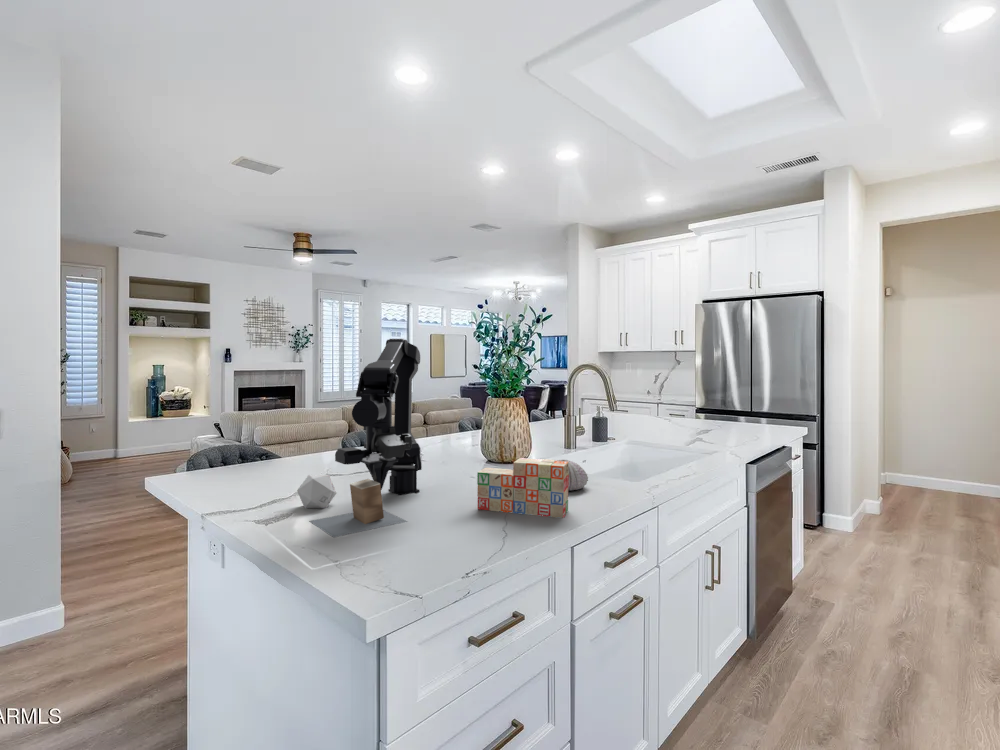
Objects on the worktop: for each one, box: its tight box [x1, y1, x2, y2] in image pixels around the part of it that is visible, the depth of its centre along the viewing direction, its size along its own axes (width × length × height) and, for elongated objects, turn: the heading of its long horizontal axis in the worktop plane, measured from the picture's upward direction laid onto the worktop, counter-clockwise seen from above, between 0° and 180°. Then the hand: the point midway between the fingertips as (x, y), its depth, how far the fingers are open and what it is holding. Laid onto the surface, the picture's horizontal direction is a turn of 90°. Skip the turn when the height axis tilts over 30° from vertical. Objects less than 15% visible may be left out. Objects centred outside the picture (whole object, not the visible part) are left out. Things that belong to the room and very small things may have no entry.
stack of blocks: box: [476, 457, 569, 519], centre depth 128 cm, size 21×6×12 cm, turn 72°
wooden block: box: [349, 478, 384, 524], centre depth 119 cm, size 4×6×8 cm
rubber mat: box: [308, 509, 409, 538], centre depth 118 cm, size 17×14×1 cm
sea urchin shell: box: [556, 459, 589, 492], centre depth 151 cm, size 13×14×8 cm
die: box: [296, 474, 338, 509], centre depth 130 cm, size 8×9×10 cm
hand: (379, 489), depth 121 cm, fingers closed
